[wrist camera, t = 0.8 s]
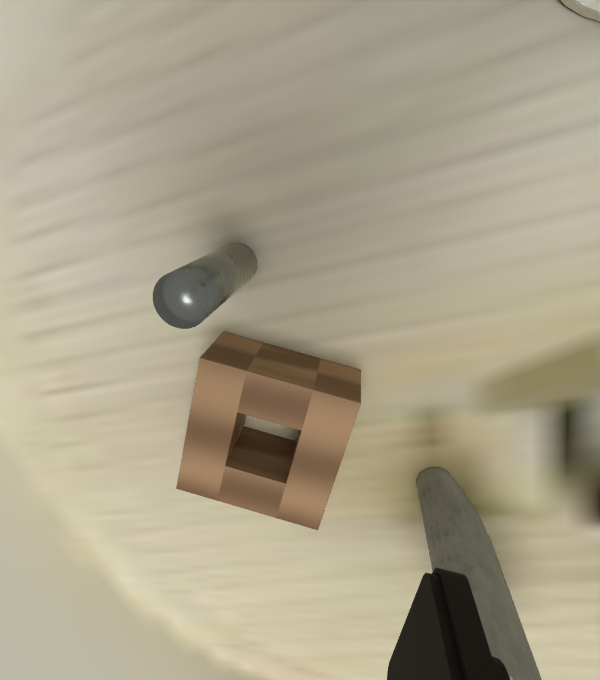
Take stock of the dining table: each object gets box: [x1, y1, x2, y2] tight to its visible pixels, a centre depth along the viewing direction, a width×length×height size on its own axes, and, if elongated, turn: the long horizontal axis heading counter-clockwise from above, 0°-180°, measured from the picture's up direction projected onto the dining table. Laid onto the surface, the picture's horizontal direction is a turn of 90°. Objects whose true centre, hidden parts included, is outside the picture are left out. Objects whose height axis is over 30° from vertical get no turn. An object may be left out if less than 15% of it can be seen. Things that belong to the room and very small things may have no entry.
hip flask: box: [416, 467, 542, 680], centre depth 32 cm, size 16×4×20 cm, turn 28°
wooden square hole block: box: [176, 332, 361, 530], centre depth 37 cm, size 12×12×6 cm
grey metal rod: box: [153, 243, 257, 329], centre depth 30 cm, size 3×3×12 cm
